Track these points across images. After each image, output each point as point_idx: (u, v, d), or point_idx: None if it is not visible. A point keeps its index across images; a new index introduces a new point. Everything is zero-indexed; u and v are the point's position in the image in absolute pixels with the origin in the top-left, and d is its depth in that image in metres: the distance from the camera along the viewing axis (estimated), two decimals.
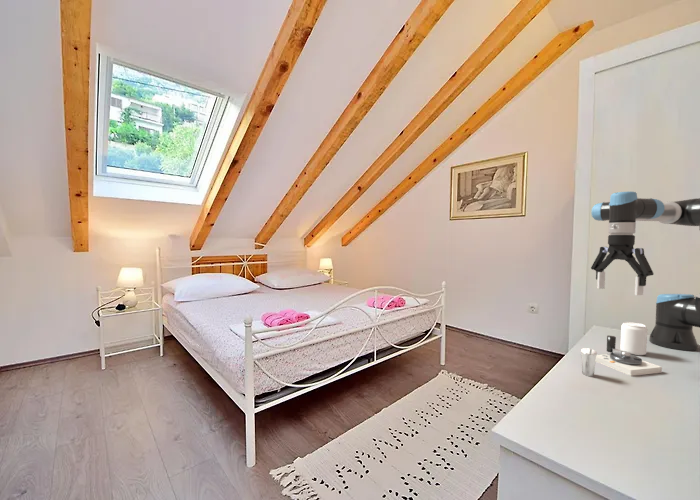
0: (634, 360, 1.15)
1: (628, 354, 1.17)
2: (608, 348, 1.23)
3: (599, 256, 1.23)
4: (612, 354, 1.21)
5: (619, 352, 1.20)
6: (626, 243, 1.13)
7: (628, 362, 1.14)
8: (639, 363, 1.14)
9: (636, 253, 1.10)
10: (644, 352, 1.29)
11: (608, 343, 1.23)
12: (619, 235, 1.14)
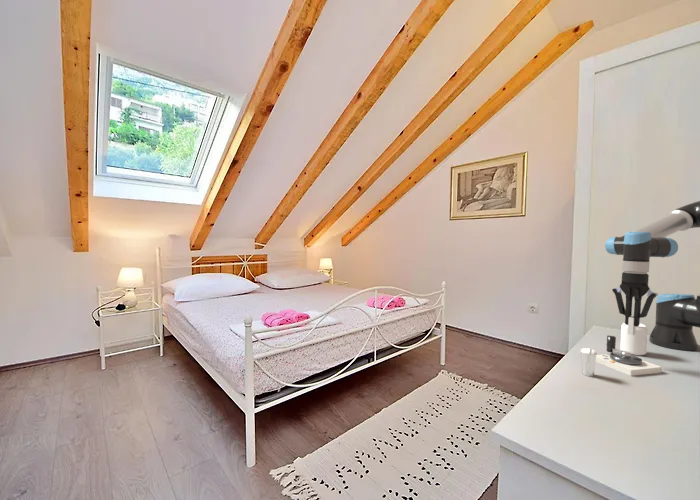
0: (634, 360, 1.15)
1: (628, 354, 1.17)
2: (608, 348, 1.23)
3: None
4: (612, 354, 1.21)
5: (619, 352, 1.20)
6: None
7: (628, 362, 1.14)
8: (639, 363, 1.14)
9: None
10: (644, 352, 1.29)
11: (608, 343, 1.23)
12: None
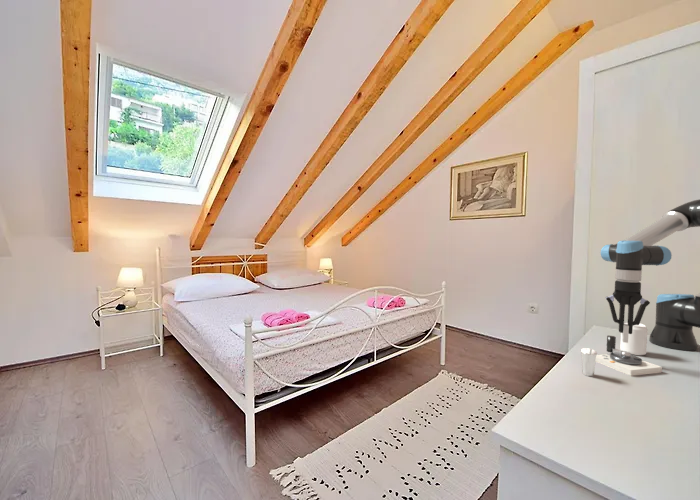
0: (634, 360, 1.15)
1: (628, 354, 1.17)
2: (608, 348, 1.23)
3: None
4: (612, 354, 1.21)
5: (619, 352, 1.20)
6: None
7: (628, 362, 1.14)
8: (639, 363, 1.14)
9: None
10: (644, 352, 1.29)
11: (608, 343, 1.23)
12: None
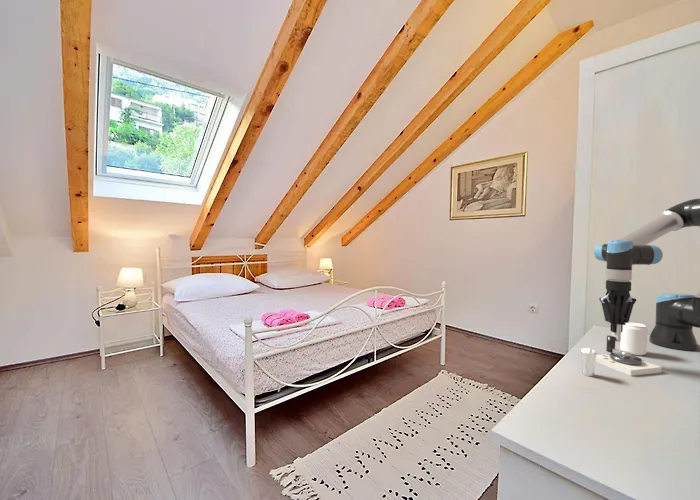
0: (635, 360, 1.15)
1: (628, 354, 1.17)
2: (608, 348, 1.23)
3: None
4: (612, 354, 1.21)
5: (619, 352, 1.20)
6: (606, 287, 1.24)
7: (628, 362, 1.14)
8: (639, 363, 1.14)
9: None
10: (644, 352, 1.29)
11: (608, 343, 1.23)
12: None
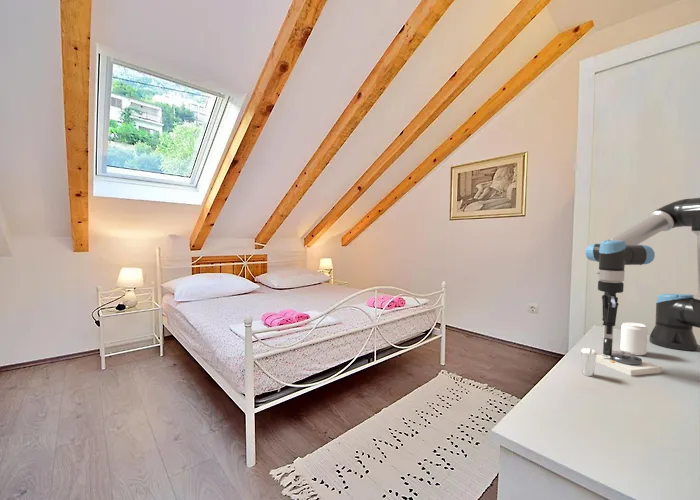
0: (636, 358, 1.17)
1: (630, 354, 1.17)
2: (608, 352, 1.19)
3: (603, 305, 1.25)
4: (617, 357, 1.17)
5: (620, 353, 1.18)
6: (606, 290, 1.18)
7: (640, 362, 1.14)
8: None
9: (608, 305, 1.17)
10: (644, 352, 1.29)
11: (608, 347, 1.19)
12: (601, 282, 1.20)
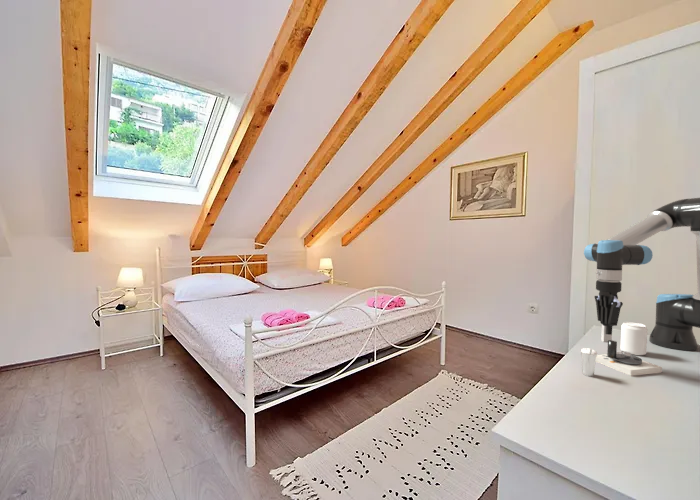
0: (633, 356, 1.19)
1: None
2: (615, 354, 1.17)
3: (597, 305, 1.25)
4: (624, 359, 1.16)
5: (622, 354, 1.18)
6: (608, 290, 1.18)
7: (641, 361, 1.15)
8: None
9: (612, 305, 1.16)
10: (644, 352, 1.29)
11: (614, 349, 1.17)
12: (602, 282, 1.19)
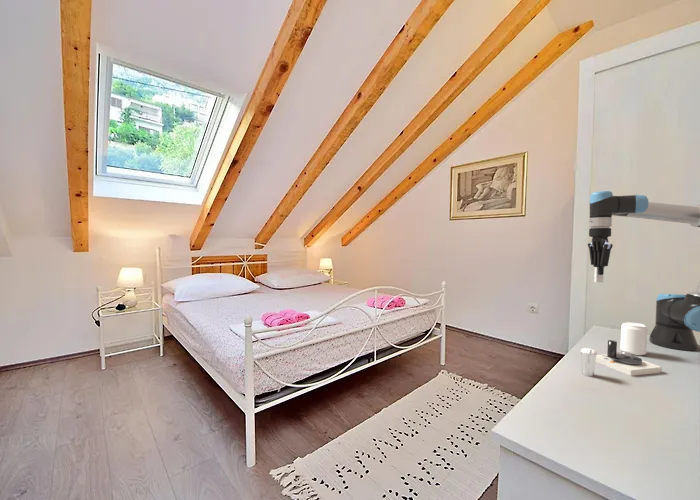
0: (633, 356, 1.19)
1: None
2: (615, 354, 1.17)
3: (590, 251, 1.41)
4: (624, 359, 1.16)
5: (622, 354, 1.18)
6: (600, 235, 1.34)
7: (641, 361, 1.15)
8: None
9: (604, 248, 1.32)
10: (644, 352, 1.29)
11: (614, 349, 1.17)
12: (594, 228, 1.36)
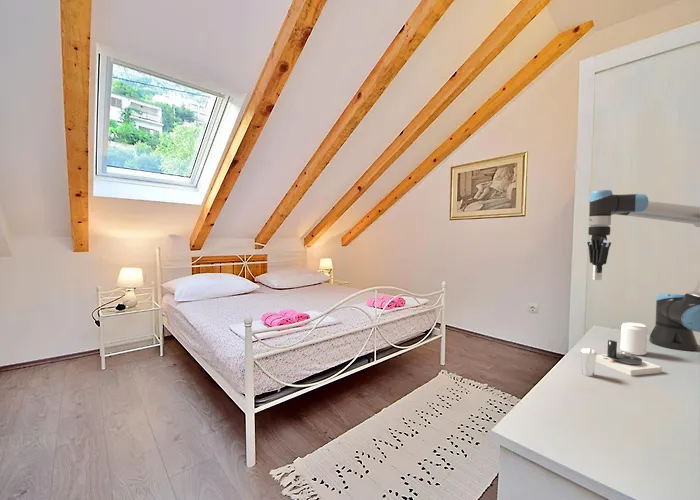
0: (633, 356, 1.19)
1: None
2: (615, 354, 1.17)
3: (589, 249, 1.43)
4: (624, 359, 1.16)
5: (622, 354, 1.18)
6: (599, 233, 1.35)
7: (641, 361, 1.15)
8: None
9: (602, 246, 1.34)
10: (644, 352, 1.29)
11: (614, 349, 1.17)
12: (593, 226, 1.37)
